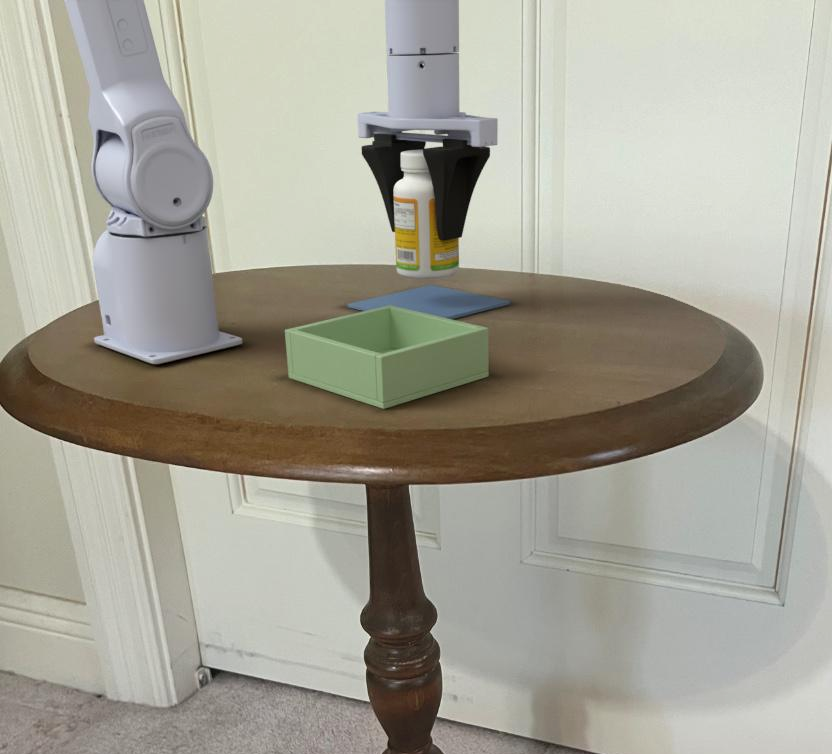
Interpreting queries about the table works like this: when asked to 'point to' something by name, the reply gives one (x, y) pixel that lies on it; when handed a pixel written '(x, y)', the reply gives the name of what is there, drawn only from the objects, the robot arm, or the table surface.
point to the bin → (387, 355)
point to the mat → (433, 302)
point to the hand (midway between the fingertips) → (426, 234)
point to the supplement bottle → (420, 224)
